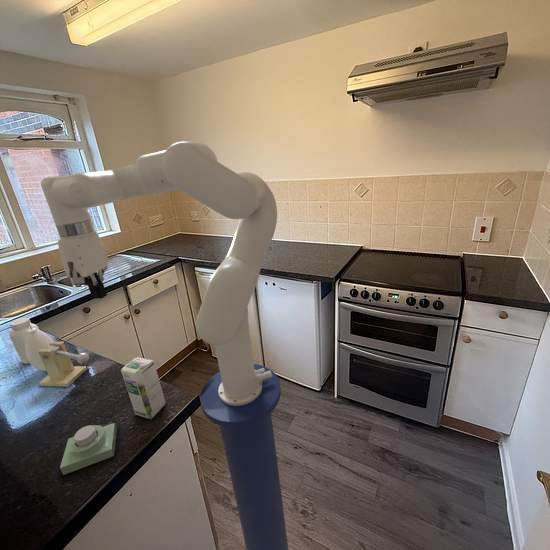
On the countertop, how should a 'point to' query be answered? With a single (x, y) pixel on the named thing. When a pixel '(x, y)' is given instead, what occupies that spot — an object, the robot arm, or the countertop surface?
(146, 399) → the syrup box
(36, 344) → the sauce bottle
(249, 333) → the robot arm
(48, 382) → the lever bracket
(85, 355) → the flush lever
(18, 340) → the pill bottle
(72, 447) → the green push button base
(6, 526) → the countertop surface
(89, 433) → the white round push button
